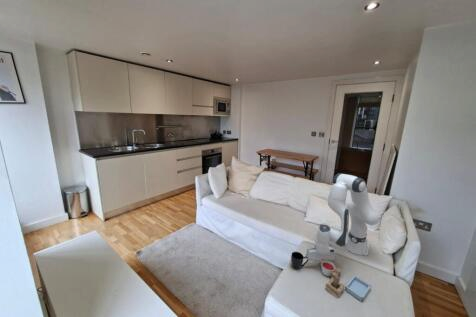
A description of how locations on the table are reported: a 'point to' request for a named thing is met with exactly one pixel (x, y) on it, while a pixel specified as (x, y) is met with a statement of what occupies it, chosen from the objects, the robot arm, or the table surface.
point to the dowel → (336, 281)
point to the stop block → (336, 273)
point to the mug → (297, 260)
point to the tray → (357, 288)
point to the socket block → (332, 289)
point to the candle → (327, 267)
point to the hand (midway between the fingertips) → (319, 263)
